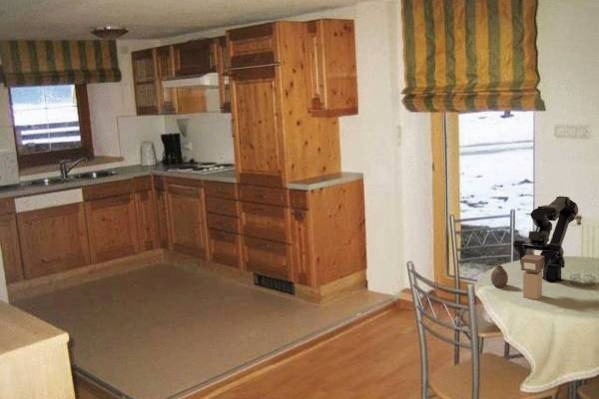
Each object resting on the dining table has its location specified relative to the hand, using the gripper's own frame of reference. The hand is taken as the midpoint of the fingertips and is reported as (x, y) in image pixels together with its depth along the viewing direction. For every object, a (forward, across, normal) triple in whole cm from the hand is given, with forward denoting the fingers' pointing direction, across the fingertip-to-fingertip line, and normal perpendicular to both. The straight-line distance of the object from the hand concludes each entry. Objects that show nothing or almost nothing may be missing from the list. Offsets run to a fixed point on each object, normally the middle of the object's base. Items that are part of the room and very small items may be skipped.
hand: (532, 266), depth 253 cm
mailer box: (+9, 0, +9) cm, 12 cm away
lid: (+1, 0, +1) cm, 1 cm away
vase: (+5, -16, +13) cm, 21 cm away
